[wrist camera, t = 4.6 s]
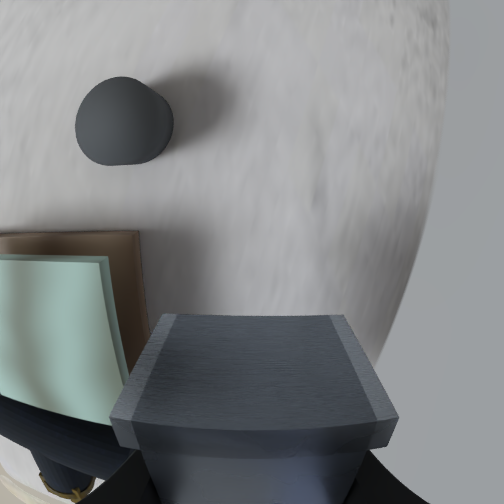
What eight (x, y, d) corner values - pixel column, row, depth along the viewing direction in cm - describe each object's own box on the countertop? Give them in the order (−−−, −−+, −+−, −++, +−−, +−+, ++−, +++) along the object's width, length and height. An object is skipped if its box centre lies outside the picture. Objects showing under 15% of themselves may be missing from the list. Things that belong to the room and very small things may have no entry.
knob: (174, 86, 14) (158, 71, 11) (173, 162, 15) (156, 162, 12) (104, 95, 14) (77, 84, 11) (102, 166, 15) (75, 169, 12)
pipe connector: (138, 529, 18) (3, 473, 17) (149, 488, 23) (23, 442, 22) (123, 466, 15) (-39, 392, 14) (142, 415, 20) (-7, 361, 20)
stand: (138, 230, 16) (107, 251, 12) (160, 394, 19) (146, 436, 15) (-11, 234, 16) (-50, 249, 12) (24, 369, 19) (-1, 398, 15)
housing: (163, 313, 10) (108, 416, 5) (343, 314, 10) (399, 417, 5) (187, 459, 12) (171, 546, 8) (314, 460, 12) (330, 546, 8)
